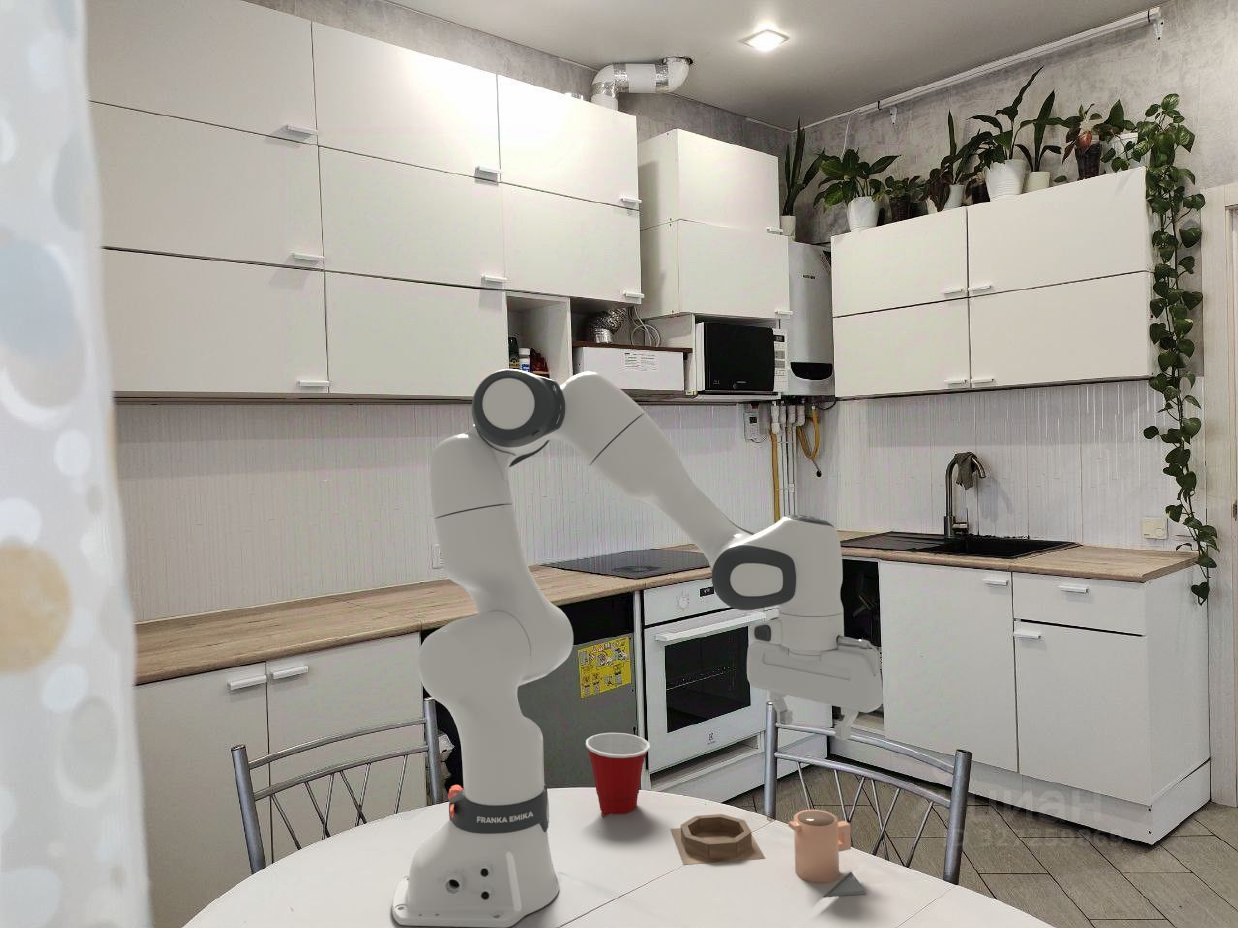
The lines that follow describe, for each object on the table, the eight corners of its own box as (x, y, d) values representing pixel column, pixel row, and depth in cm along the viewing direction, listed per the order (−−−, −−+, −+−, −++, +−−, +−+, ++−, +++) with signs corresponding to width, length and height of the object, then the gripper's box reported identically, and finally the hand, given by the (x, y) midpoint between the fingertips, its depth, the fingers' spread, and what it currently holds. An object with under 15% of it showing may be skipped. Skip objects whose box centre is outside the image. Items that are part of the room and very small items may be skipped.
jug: (805, 890, 118) (803, 831, 118) (781, 871, 123) (780, 814, 123) (861, 877, 121) (860, 819, 121) (835, 858, 127) (834, 803, 127)
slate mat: (792, 899, 117) (792, 895, 117) (772, 864, 127) (772, 861, 127) (865, 893, 118) (865, 889, 118) (839, 859, 128) (839, 855, 128)
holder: (683, 871, 125) (683, 849, 125) (670, 835, 137) (669, 814, 137) (765, 864, 127) (765, 843, 126) (745, 829, 138) (744, 809, 138)
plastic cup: (646, 828, 140) (644, 753, 140) (580, 824, 142) (578, 750, 142) (656, 801, 151) (654, 731, 151) (595, 797, 153) (593, 729, 153)
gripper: (891, 638, 116) (893, 741, 117) (765, 619, 131) (767, 711, 131) (866, 646, 112) (868, 753, 112) (739, 625, 127) (741, 720, 127)
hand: (813, 730), depth 122 cm, fingers open, 8 cm apart
